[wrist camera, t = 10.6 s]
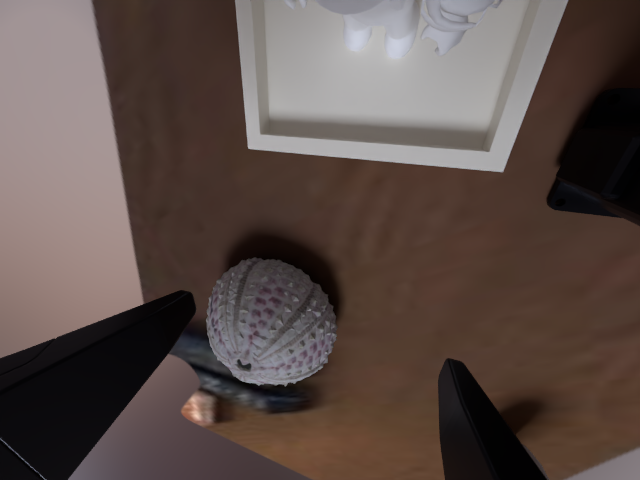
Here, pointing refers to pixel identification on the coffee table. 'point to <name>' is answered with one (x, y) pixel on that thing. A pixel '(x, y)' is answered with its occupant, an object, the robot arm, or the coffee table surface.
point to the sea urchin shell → (270, 322)
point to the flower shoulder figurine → (404, 21)
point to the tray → (391, 85)
